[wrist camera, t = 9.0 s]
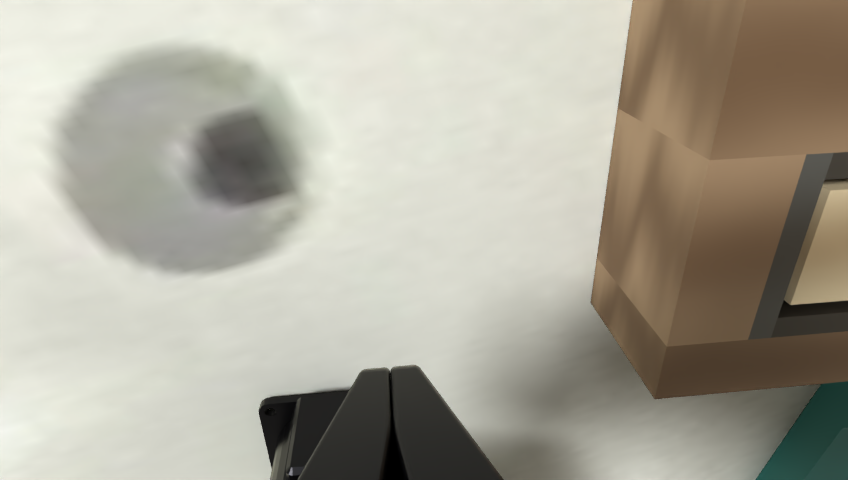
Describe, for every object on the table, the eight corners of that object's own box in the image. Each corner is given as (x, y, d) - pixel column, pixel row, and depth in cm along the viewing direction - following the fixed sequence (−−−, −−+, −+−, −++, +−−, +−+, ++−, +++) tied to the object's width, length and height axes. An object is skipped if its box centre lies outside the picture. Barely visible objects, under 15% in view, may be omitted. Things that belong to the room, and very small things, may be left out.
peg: (784, 222, 23) (905, 295, 17) (694, 228, 22) (790, 305, 17) (814, 129, 21) (957, 182, 16) (716, 135, 20) (830, 190, 15)
